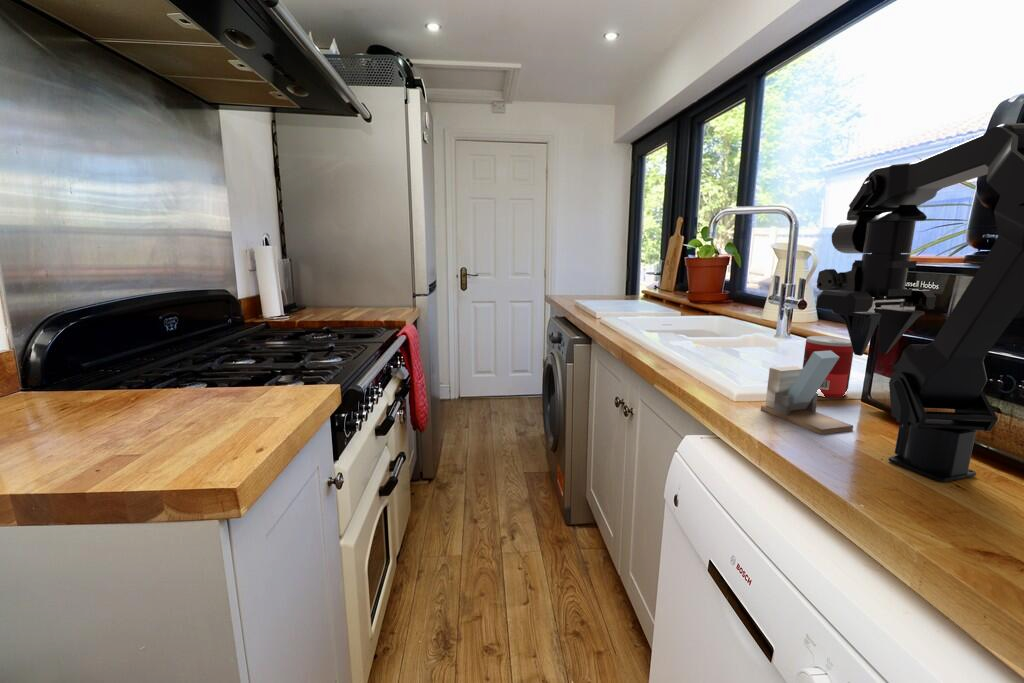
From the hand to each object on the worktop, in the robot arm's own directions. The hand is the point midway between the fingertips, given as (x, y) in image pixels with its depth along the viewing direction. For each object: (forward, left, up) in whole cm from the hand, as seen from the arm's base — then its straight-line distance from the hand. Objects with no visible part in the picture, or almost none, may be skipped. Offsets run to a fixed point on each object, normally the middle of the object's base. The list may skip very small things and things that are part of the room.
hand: (870, 354), depth 74 cm
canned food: (+16, -11, -12) cm, 23 cm away
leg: (+7, +6, -10) cm, 13 cm away
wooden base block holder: (+5, +6, -12) cm, 14 cm away
